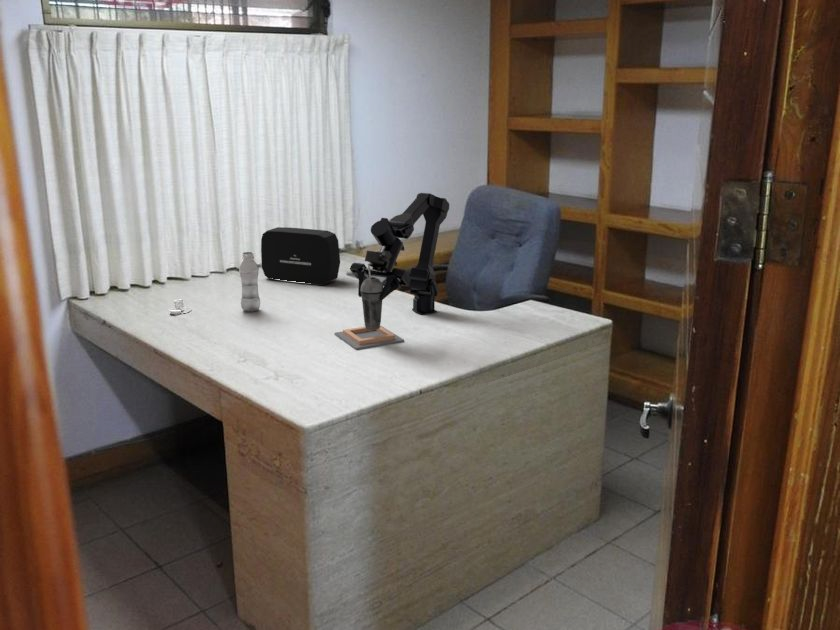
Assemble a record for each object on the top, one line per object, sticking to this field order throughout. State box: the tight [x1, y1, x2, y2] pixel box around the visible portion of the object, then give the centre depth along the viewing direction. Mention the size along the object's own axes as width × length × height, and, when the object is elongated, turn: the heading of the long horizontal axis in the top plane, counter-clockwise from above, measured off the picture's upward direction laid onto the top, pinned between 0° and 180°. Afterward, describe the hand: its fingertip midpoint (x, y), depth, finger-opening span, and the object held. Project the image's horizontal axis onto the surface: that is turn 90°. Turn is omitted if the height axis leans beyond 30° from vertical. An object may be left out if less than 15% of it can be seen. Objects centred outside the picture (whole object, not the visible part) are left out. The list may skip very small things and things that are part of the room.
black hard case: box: [260, 226, 341, 286], centre depth 303 cm, size 30×12×20 cm, turn 69°
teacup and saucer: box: [169, 298, 185, 315], centre depth 263 cm, size 9×8×4 cm
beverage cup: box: [360, 263, 384, 330], centre depth 233 cm, size 7×7×20 cm
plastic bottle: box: [238, 251, 261, 312], centre depth 262 cm, size 6×7×20 cm
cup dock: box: [334, 325, 405, 351], centre depth 237 cm, size 16×16×2 cm
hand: (369, 298), depth 232 cm, fingers closed on beverage cup, 7 cm apart
